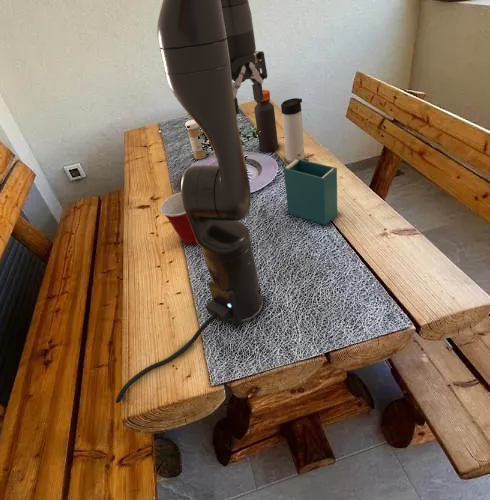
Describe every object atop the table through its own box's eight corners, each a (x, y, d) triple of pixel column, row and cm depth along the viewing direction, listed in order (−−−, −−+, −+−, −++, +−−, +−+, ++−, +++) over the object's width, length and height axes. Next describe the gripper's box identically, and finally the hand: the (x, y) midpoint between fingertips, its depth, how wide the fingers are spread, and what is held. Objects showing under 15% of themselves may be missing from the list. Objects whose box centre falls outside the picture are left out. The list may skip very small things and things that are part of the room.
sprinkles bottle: (205, 152, 145) (197, 117, 137) (207, 158, 142) (198, 122, 133) (193, 155, 145) (184, 120, 136) (194, 160, 142) (185, 125, 133)
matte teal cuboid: (288, 213, 108) (325, 226, 101) (283, 168, 99) (323, 179, 92) (300, 202, 111) (337, 214, 104) (297, 158, 102) (336, 167, 95)
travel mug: (304, 163, 128) (300, 103, 116) (285, 164, 130) (278, 104, 117) (306, 154, 133) (303, 95, 120) (287, 155, 135) (282, 97, 122)
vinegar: (281, 148, 139) (275, 91, 127) (265, 154, 138) (257, 97, 125) (273, 142, 144) (266, 87, 132) (256, 148, 142) (248, 92, 130)
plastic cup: (173, 229, 110) (161, 193, 102) (211, 223, 109) (201, 186, 102) (170, 254, 101) (156, 217, 94) (211, 247, 101) (200, 209, 93)
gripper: (224, 39, 75) (239, 121, 85) (270, 21, 82) (278, 98, 92) (198, 38, 79) (215, 116, 89) (243, 21, 86) (254, 94, 97)
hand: (247, 107), depth 91 cm, fingers open, 8 cm apart
